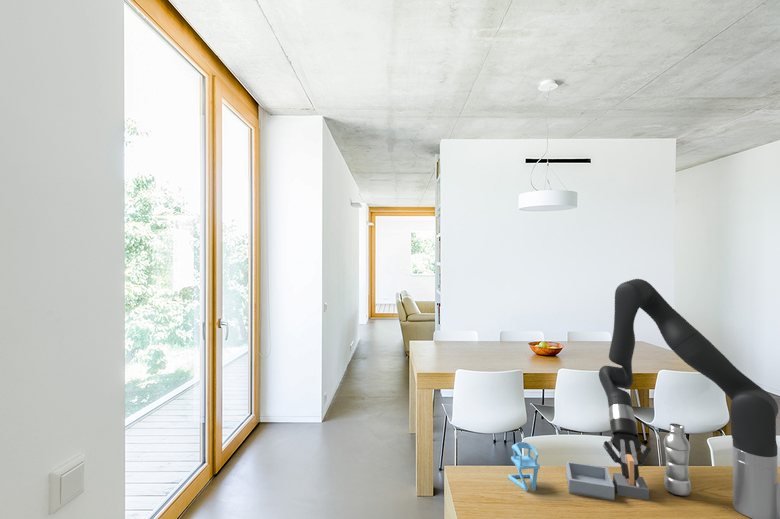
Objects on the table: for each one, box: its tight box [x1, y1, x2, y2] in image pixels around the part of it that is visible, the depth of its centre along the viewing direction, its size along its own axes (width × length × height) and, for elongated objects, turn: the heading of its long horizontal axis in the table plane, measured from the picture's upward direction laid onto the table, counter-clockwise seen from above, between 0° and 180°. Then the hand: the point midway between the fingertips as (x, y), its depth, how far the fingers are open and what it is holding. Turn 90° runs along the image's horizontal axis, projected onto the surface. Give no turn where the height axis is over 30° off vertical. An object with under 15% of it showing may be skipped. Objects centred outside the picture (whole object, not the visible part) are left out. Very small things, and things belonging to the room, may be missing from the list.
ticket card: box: [625, 454, 634, 486], centre depth 123 cm, size 1×4×10 cm, turn 161°
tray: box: [565, 460, 615, 502], centre depth 125 cm, size 12×12×4 cm
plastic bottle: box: [663, 422, 692, 497], centre depth 122 cm, size 6×7×20 cm
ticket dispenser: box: [612, 472, 650, 501], centre depth 123 cm, size 8×8×4 cm
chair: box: [507, 441, 541, 492], centre depth 126 cm, size 8×8×12 cm
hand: (631, 478), depth 121 cm, fingers closed
